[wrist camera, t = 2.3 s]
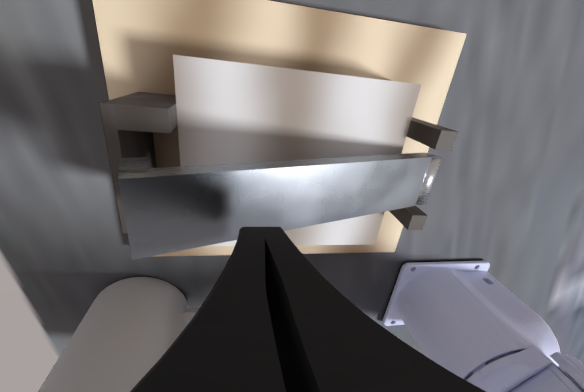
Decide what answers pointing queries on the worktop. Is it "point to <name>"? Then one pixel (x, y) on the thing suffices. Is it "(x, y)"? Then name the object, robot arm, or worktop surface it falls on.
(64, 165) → the worktop surface
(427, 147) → the board
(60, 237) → the worktop surface
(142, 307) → the cup
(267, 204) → the retention strap
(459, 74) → the worktop surface
